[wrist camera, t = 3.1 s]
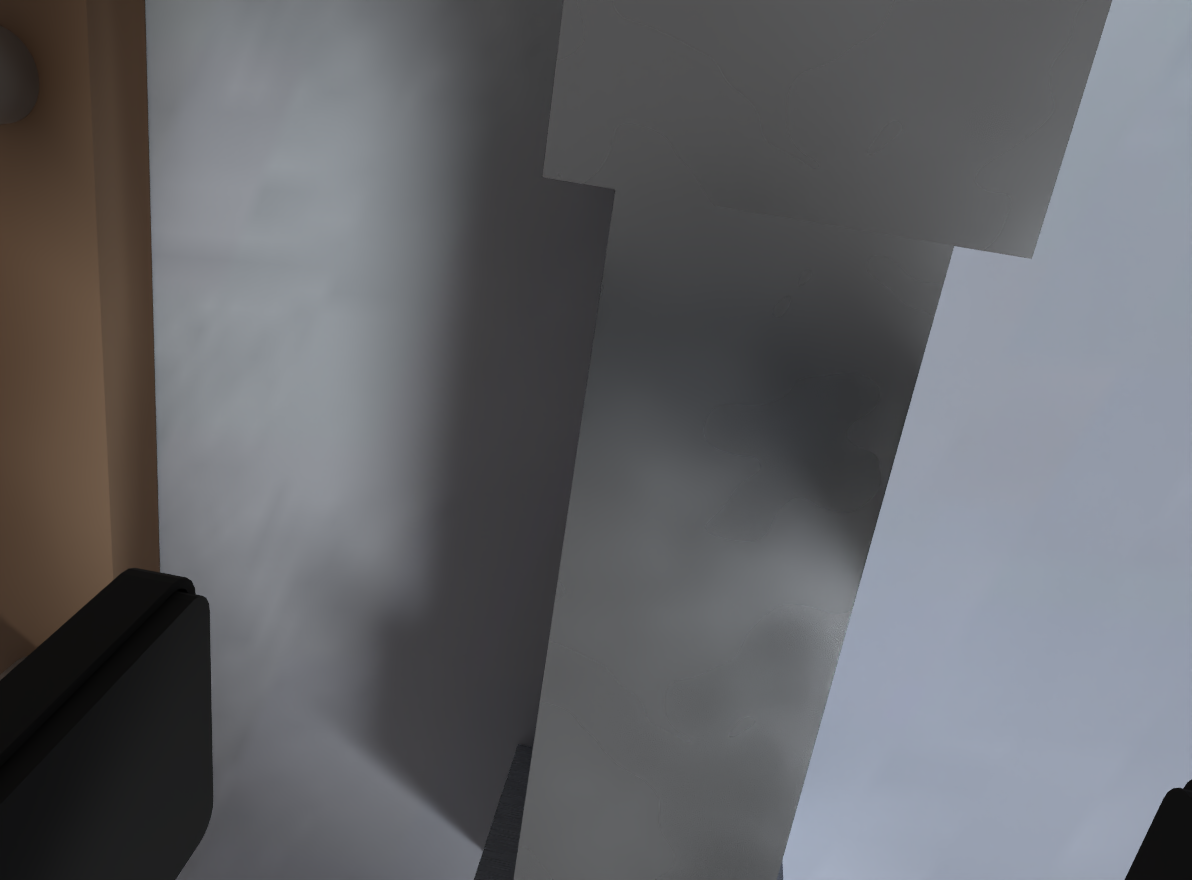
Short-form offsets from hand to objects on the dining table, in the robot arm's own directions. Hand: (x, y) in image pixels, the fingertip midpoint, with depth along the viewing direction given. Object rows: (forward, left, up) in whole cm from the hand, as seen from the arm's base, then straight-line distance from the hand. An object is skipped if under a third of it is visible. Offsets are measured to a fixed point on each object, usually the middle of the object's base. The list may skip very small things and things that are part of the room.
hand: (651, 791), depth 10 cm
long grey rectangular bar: (0, +1, -8) cm, 8 cm away
